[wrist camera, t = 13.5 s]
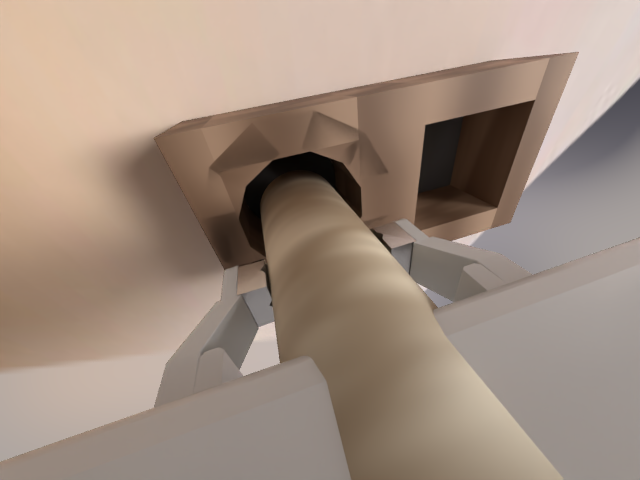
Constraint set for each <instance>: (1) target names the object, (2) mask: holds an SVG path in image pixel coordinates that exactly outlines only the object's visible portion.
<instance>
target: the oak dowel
mask: <svg viewBox="0 0 640 480" xmlns="http://www.w3.org/2000/svg"><path fill="white" fill-rule="evenodd" d="M260 213H261V221H262V229H263V236H264V244H265V252H266V259H267V267H268V274H269V282H270V290H271V298H272V305H273V313H274V321H275V329H276V336H277V344H278V351H279V359H280V363H283V362H286V361H289V360H291V359H294V358H297V357H300V356H309V357H310V358H312V359H313V361H314V362H315V364H316V365H317V367H318V369H319V370H320V372H321V373H322V375H323V376H324V378H325V380H326V382H327V385H328V389H329V393H330V397H331V401H332V405H333V409H334V413H335V417H336V421H337V425H338V429H339V433H340V437H341V441H342V445H343V449H344V453H345V457H346V461H347V465H348V469H349V473H350V477H351V480H563V479H564V478H563V477H562V476H561V475H560V474H559V472H558V471H557V470H556V469H555V468H554V466H553V465H552V464H551V463H550V462H549V460H548V459H547V458H546V457H545V456H544V454H543V453H542V452H541V451H540V450H539V448H538V447H537V446H536V445H535V443H534V442H533V441H532V440H531V439H530V437H529V436H528V435H527V434H526V433H525V431H524V430H523V429H522V428H521V427H520V425H519V424H518V423H517V422H516V421H515V419H514V418H513V417H512V416H511V415H510V413H509V412H508V411H507V410H506V408H505V407H504V406H503V405H502V404H501V402H500V401H499V400H498V399H497V398H496V396H495V395H494V394H493V393H492V392H491V390H490V389H489V388H488V387H487V386H486V384H485V383H484V382H483V381H482V380H481V378H480V377H479V376H478V375H477V374H476V372H475V371H474V370H473V369H472V367H471V366H470V365H469V364H468V363H467V361H466V360H465V359H464V358H463V357H462V355H461V354H460V353H459V352H458V351H457V349H456V348H455V347H454V346H453V345H452V343H451V342H450V341H449V340H448V339H447V337H446V336H445V334H444V332H443V331H442V329H441V327H440V325H439V324H438V322H437V320H436V318H435V316H434V313H433V310H434V309H437V308H438V307H437V306H436V305H435V304H434V303H433V301H432V300H431V299H430V298H429V297H428V296H427V295H426V293H425V292H424V291H423V290H422V289H421V288H420V287H419V285H418V284H417V283H416V282H415V281H414V280H413V279H412V277H411V276H410V275H409V274H408V273H407V272H406V271H405V269H404V268H403V267H402V266H401V265H400V264H399V263H398V261H397V260H396V259H395V258H394V257H393V256H392V255H391V253H390V252H389V251H388V250H387V249H386V248H385V247H384V245H383V244H382V243H381V242H380V241H379V240H378V239H377V237H376V236H375V235H374V234H373V233H372V232H371V231H370V229H369V228H368V227H367V226H366V225H365V224H364V223H363V221H362V220H361V219H360V218H359V217H358V216H357V215H356V213H355V212H354V211H353V210H352V209H351V208H350V207H349V205H348V204H347V203H346V202H345V201H344V200H343V199H342V197H341V196H340V195H339V194H338V193H337V192H336V191H335V189H334V188H333V187H332V186H331V185H330V184H329V183H328V182H327V180H326V179H324V178H323V177H322V176H320V175H318V174H317V173H314V172H311V171H306V170H295V171H290V172H287V173H284V174H282V175H280V176H279V177H277V178H276V179H274V180H273V181H272V182H271V183H270V184H269V185H268V187H267V188H266V189H265V191H264V193H263V195H262V198H261V203H260Z"/></svg>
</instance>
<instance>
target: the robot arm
mask: <svg viewBox="0 0 640 480" xmlns="http://www.w3.org/2000/svg"><path fill="white" fill-rule="evenodd" d="M370 231H371V232H372V233H373V234H374V235H375V236H376V237H377V239H378V240H379V241H380V242H381V243H382V244H383V245H384V247H385V248H386V249H387V250H388V251H389V252H390V253H391V255H392V256H393V257H394V258H395V259H396V260H397V261H398V263H399V264H400V265H401V266H402V267H403V268H404V269H405V271H406V272H407V273H408V274H409V275H410V276H411V277H412V279H413V280H414V281H415V282H416V283H418V284H420V285H422V286H424V287H426V288H428V289H430V290H432V291H434V292H436V293H438V294H439V295H441V296H444V297H445V298H448V299H449V300H451V301H453V303H451V304H448V305H445V306H442V307H440V308H437V309H434V310H433V313H434V316H435V318H436V320H437V322H438V324H439V325H440V327H441V329H442V331H443V332H444V334H445V336H446V337H447V339H448V340H449V341H450V342H451V343H452V345H453V346H454V347H455V348H456V349H457V351H458V352H459V353H460V354H461V355H462V357H463V358H464V359H465V360H466V361H467V363H468V364H469V365H470V366H471V367H472V369H473V370H474V371H475V372H476V374H477V375H478V376H479V377H480V378H481V380H482V381H483V382H484V383H485V384H486V386H487V387H488V388H489V389H490V390H491V392H492V393H493V394H494V395H495V396H496V398H497V399H498V400H499V401H500V402H501V404H502V405H503V406H504V407H505V408H506V410H507V411H508V412H509V413H510V415H511V416H512V417H513V418H514V419H515V421H516V422H517V423H518V424H519V425H520V427H521V428H522V429H523V430H524V431H525V433H526V434H527V435H528V436H529V437H530V439H531V440H532V441H533V442H534V443H535V445H536V446H537V447H538V448H539V450H540V451H541V452H542V453H543V454H544V456H545V457H546V458H547V459H548V460H549V462H550V463H551V464H552V465H553V466H554V468H555V469H556V470H557V471H558V472H559V474H560V475H561V476H562V477H563V478H564V479H563V480H640V237H639V238H636V239H633V240H631V241H628V242H625V243H622V244H619V245H616V246H613V247H611V248H608V249H605V250H602V251H599V252H596V253H593V254H591V255H588V256H585V257H582V258H579V259H576V260H574V261H571V262H568V263H565V264H562V265H560V266H556V267H554V268H551V269H548V270H545V271H542V272H540V273H537V274H534V275H532V274H530V273H529V272H528V271H526V270H524V269H523V268H522V267H520V266H518V265H517V264H515V263H514V262H512V261H511V260H509V259H508V258H506V257H505V256H503V255H502V254H499V253H495V252H491V251H488V250H484V249H480V248H476V247H472V246H468V245H464V244H460V243H456V242H452V241H448V240H444V239H440V238H437V237H430V238H429V237H428V236H427V235H426V234H424V233H423V232H422V231H421V230H419V229H418V228H417V227H416V226H414V225H413V224H412V223H411V222H410V221H408V220H407V219H404V218H403V219H400V220H396V221H393V222H391V223H388V224H385V225H381V226H378V227H374V228H371V229H370ZM271 322H274V313H273V305H272V298H271V290H270V282H269V274H268V267H267V263H266V261H265V259H261V260H258V261H254V262H250V263H246V264H242V265H239V266H235V267H232V268H228V269H225V271H224V275H223V284H222V293H221V301H218V302H216V303H215V305H214V306H213V307H212V308H211V309H210V311H209V312H208V313H207V314H206V316H205V317H204V318H203V319H202V320H201V322H200V323H199V324H198V325H197V327H196V328H195V329H194V330H193V331H192V333H191V334H190V335H189V336H188V337H187V339H186V340H185V341H184V342H183V344H182V345H181V346H180V347H179V348H178V350H177V351H176V352H175V353H174V355H173V356H172V357H171V358H170V360H169V361H168V362H167V363H166V367H165V370H164V373H163V377H162V381H161V384H160V387H159V391H158V395H157V398H156V402H155V405H154V408H152V409H149V410H146V411H143V412H141V413H138V414H135V415H132V416H130V417H126V418H124V419H121V420H118V421H115V422H112V423H109V424H106V425H104V426H101V427H98V428H95V429H92V430H90V431H86V432H84V433H81V434H78V435H75V436H72V437H69V438H66V439H64V440H61V441H58V442H55V443H52V444H49V445H47V446H44V447H41V448H38V449H35V450H33V451H29V452H27V453H24V454H21V455H18V456H15V457H12V458H10V459H7V460H4V461H1V462H0V480H351V477H350V473H349V469H348V465H347V461H346V457H345V453H344V449H343V445H342V441H341V437H340V433H339V429H338V425H337V421H336V417H335V413H334V409H333V405H332V401H331V397H330V393H329V389H328V385H327V382H326V380H325V378H324V376H323V375H322V373H321V372H320V370H319V369H318V367H317V365H316V364H315V362H314V361H313V359H312V358H310V357H309V356H300V357H297V358H294V359H291V360H289V361H286V362H283V363H280V364H278V365H274V366H272V367H269V368H266V369H263V370H260V371H258V372H255V373H252V374H249V375H246V376H243V375H242V374H241V372H240V371H239V370H240V368H241V365H242V363H243V361H244V359H245V357H246V355H247V352H248V350H249V348H250V346H251V344H252V342H253V339H254V337H255V335H256V333H257V331H258V327H260V326H263V325H266V324H268V323H271Z"/></svg>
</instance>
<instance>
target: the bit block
mask: <svg viewBox="0 0 640 480" xmlns="http://www.w3.org/2000/svg"><path fill="white" fill-rule="evenodd" d="M578 53H579V52H573V53H563V54H553V55H543V56H533V57H523V58H513V59H503V60H493V61H487V62H482V63H477V64H472V65H467V66H462V67H457V68H452V69H447V70H442V71H437V72H431V73H426V74H421V75H416V76H411V77H406V78H401V79H396V80H391V81H386V82H381V83H375V84H370V85H365V86H360V87H355V88H350V89H345V90H340V91H335V92H330V93H325V94H320V95H314V96H309V97H304V98H299V99H294V100H289V101H284V102H279V103H274V104H269V105H264V106H258V107H253V108H248V109H243V110H238V111H233V112H228V113H223V114H218V115H213V116H208V117H202V118H197V119H192V120H187V121H182V122H181V123H179V124H177V125H175V126H174V127H172V128H170V129H168V130H167V131H165V132H163V133H162V134H160V135H158V136H156V137H155V138H154V140H155V141H156V143H157V145H158V147H159V149H160V151H161V153H162V154H163V156H164V158H165V160H166V162H167V164H168V166H169V167H170V169H171V171H172V173H173V175H174V177H175V179H176V180H177V182H178V184H179V186H180V188H181V190H182V192H183V193H184V195H185V197H186V199H187V201H188V203H189V205H190V206H191V208H192V210H193V212H194V214H195V216H196V218H197V219H198V221H199V223H200V225H201V227H202V229H203V231H204V232H205V234H206V236H207V238H208V240H209V242H210V244H211V245H212V247H213V249H214V251H215V253H216V255H217V257H218V258H219V260H220V262H221V264H222V266H223V268H224V270H225V269H228V268H232V267H235V266H239V265H242V264H246V263H250V262H254V261H258V260H261V259H265V261H266V263H267V259H266V252H265V244H264V236H263V229H262V221H261V213H260V203H261V198H262V195H263V193H264V191H265V189H266V188H267V187H268V185H269V184H270V183H271V182H272V181H273V180H274V179H276V178H277V177H279V176H280V175H282V174H284V173H287V172H290V171H295V170H306V171H311V172H314V173H317V174H318V175H320V176H322V177H323V178H324V179H326V180H327V182H328V183H329V184H330V185H331V186H332V187H333V188H334V189H335V191H336V192H337V193H338V194H339V195H340V196H341V197H342V199H343V200H344V201H345V202H346V203H347V204H348V205H349V207H350V208H351V209H352V210H353V211H354V212H355V213H356V215H357V216H358V217H359V218H360V219H361V220H362V221H363V223H364V224H365V225H366V226H367V227H368V228H369V229H371V228H374V227H378V226H381V225H385V224H388V223H391V222H393V221H396V220H400V219H403V218H404V219H407V220H408V221H410V222H411V223H412V224H413V225H414V226H416V227H417V228H418V229H419V230H421V231H422V232H423V233H424V234H426V235H427V236H428V237H429V238H430V237H437V238H440V239H444V240H448V241H452V240H456V239H459V238H462V237H465V236H469V235H472V234H475V233H478V232H482V231H485V230H488V229H491V228H494V227H498V226H501V225H504V224H507V223H510V222H511V220H512V217H513V215H514V212H515V209H516V207H517V205H518V202H519V200H520V197H521V195H522V192H523V190H524V187H525V185H526V182H527V180H528V177H529V175H530V172H531V170H532V167H533V165H534V162H535V160H536V158H537V155H538V153H539V150H540V148H541V145H542V143H543V140H544V138H545V135H546V133H547V130H548V128H549V125H550V123H551V120H552V118H553V115H554V113H555V110H556V108H557V105H558V103H559V100H560V98H561V95H562V93H563V90H564V88H565V86H566V83H567V81H568V78H569V76H570V73H571V71H572V68H573V66H574V63H575V61H576V58H577V56H578ZM331 161H332V162H331ZM248 206H249V207H248Z"/></svg>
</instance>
